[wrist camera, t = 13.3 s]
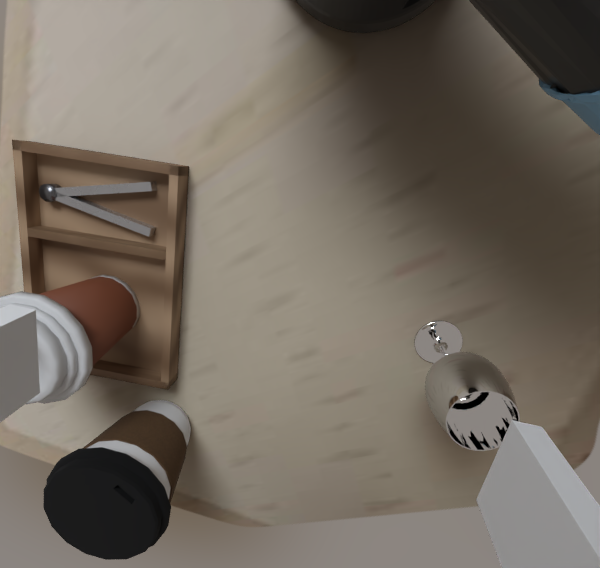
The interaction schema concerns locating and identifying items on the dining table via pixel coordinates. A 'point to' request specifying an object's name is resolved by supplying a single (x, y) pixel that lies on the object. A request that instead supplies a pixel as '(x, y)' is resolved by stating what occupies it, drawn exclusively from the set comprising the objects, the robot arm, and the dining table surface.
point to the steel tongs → (71, 198)
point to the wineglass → (465, 389)
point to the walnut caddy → (109, 246)
